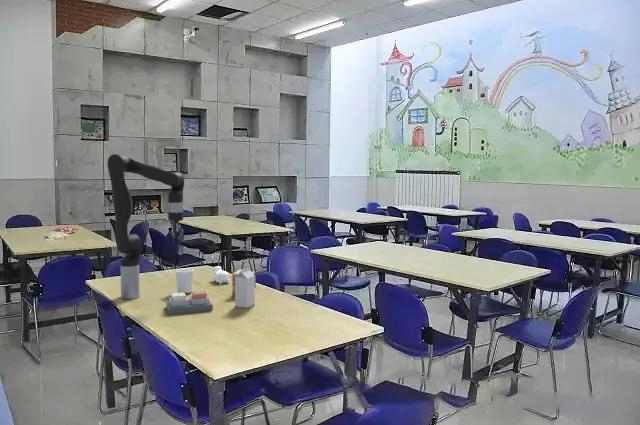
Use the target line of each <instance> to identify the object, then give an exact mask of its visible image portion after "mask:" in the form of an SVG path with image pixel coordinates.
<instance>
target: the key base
mask: <svg viewBox="0 0 640 425" xmlns="http://www.w3.org/2000/svg"><path fill="white" fill-rule="evenodd" d="M168 298H169V300H166V301H165V306H166V309H167V312H168V313H169V315H170V316H172V315H181V314H193V313H203V312H212V311H213V307H214V306H213V303H212V302H211V301H210V298H209V297H208V295H207V298H203V299H193V298H192V295H190V296H189V298H188V297H186V300H181V301H172V300H171V297H168Z"/></svg>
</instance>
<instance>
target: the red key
mask: <svg viewBox="0 0 640 425" xmlns="http://www.w3.org/2000/svg"><path fill="white" fill-rule="evenodd" d="M191 296H192V298H193V299H203V298H207V296H208V293H207V292H206V291H205V290H200V291H199V290H198V291H192V292H191Z"/></svg>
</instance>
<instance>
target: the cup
mask: <svg viewBox="0 0 640 425" xmlns="http://www.w3.org/2000/svg"><path fill="white" fill-rule="evenodd" d="M174 272H175V281H176V288H177V289H176V290H177V293H185V295H190V294H192V292H193V284H194V272H195V270H194V269H193V268H187V267H186V268H178V269H176V270H175V271H174Z"/></svg>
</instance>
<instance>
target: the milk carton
mask: <svg viewBox="0 0 640 425" xmlns="http://www.w3.org/2000/svg"><path fill="white" fill-rule="evenodd" d="M252 272H253V271H252ZM252 272H251V269H250V267H245V268H242V270H241V271H240V272H239V274H238V275H237V276H236V277H235V296H234V299H235V300H234V304H235V305H234V306H235V307H240V308H244V309H248V308H251V307H252V306H255V305H256V304H255V303H256V302H255V301H256V300H255V298H256V297H255V296H256V295H255V294H256V293H255V292H256V290H255V288H256V287H255V277H256V275H255V276H254V274H253V273H252Z"/></svg>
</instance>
